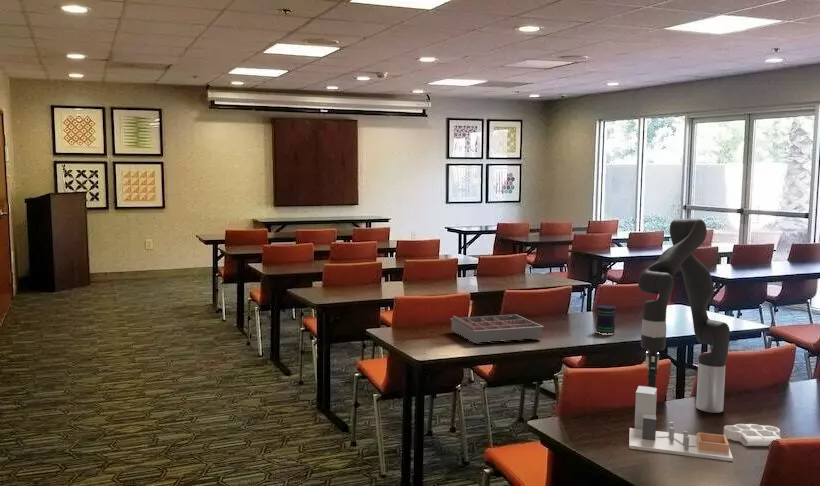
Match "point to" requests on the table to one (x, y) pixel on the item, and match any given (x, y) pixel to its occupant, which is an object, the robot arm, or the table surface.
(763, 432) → the white brass knuckles
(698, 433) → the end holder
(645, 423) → the dark grey block
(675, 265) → the robot arm
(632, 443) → the board
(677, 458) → the table surface
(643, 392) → the small box
